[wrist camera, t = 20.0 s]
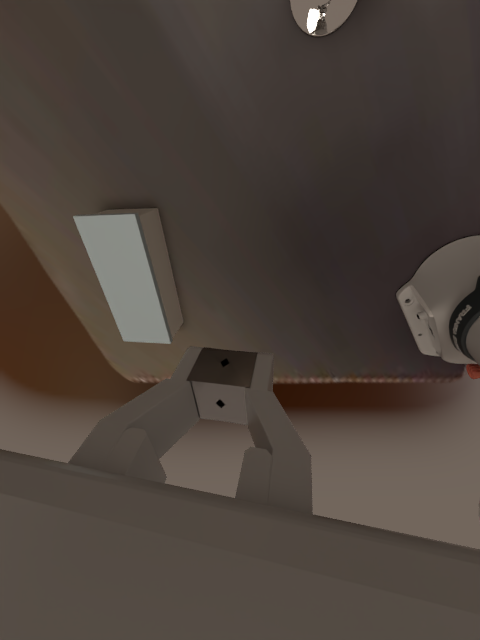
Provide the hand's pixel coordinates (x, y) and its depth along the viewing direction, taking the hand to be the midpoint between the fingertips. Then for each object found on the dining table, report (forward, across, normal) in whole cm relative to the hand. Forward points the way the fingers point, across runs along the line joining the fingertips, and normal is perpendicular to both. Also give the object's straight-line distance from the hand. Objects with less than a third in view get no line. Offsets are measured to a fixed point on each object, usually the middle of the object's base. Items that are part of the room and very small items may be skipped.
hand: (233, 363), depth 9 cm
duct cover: (+31, -27, -13) cm, 43 cm away
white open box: (+37, -27, -13) cm, 48 cm away
